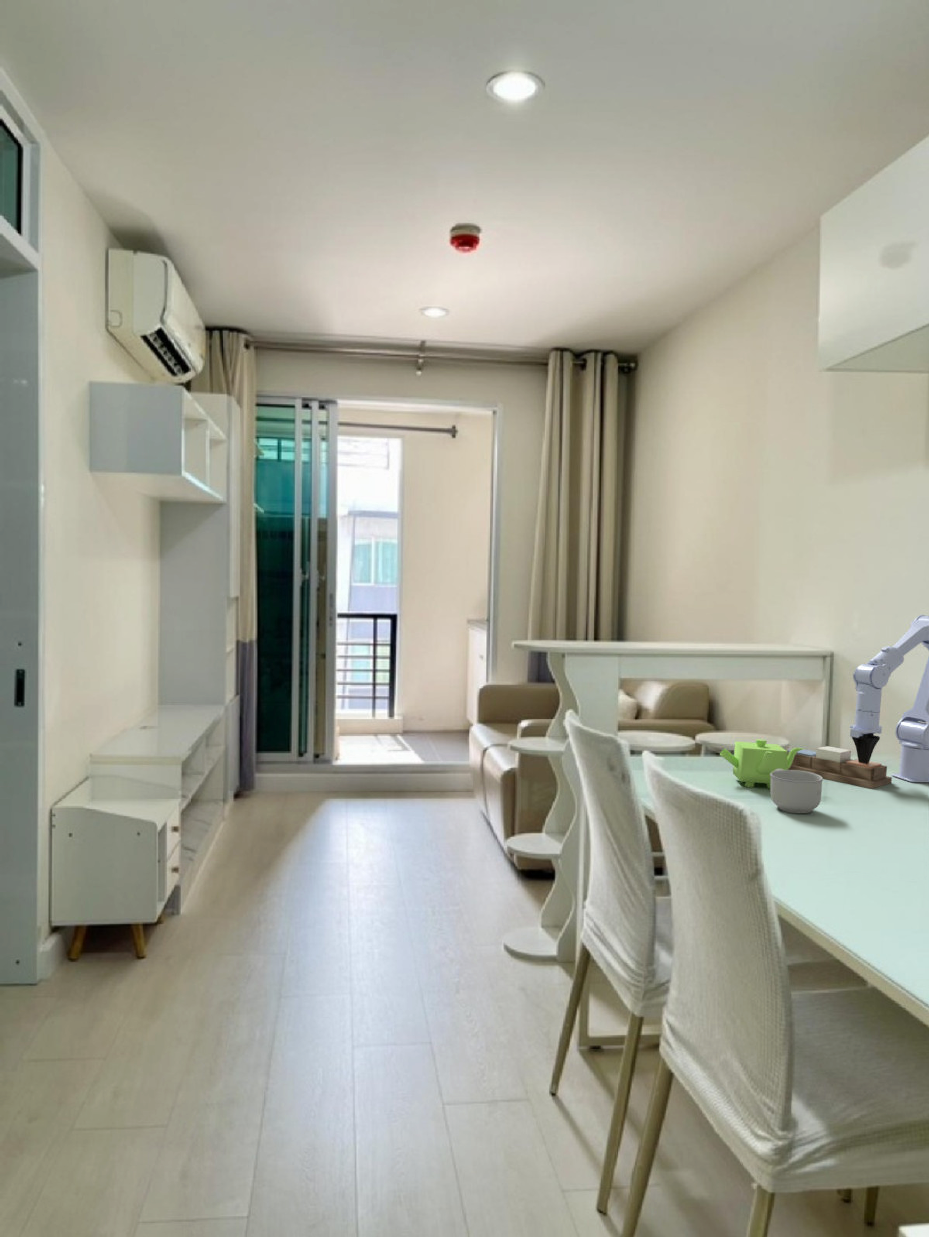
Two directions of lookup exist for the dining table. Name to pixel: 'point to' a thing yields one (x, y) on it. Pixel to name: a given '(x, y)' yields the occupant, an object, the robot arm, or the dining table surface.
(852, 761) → the terracotta key
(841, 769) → the wooden compartment tray
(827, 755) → the cream key
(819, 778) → the teacup
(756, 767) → the kettle
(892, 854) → the dining table surface
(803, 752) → the slate blue key
